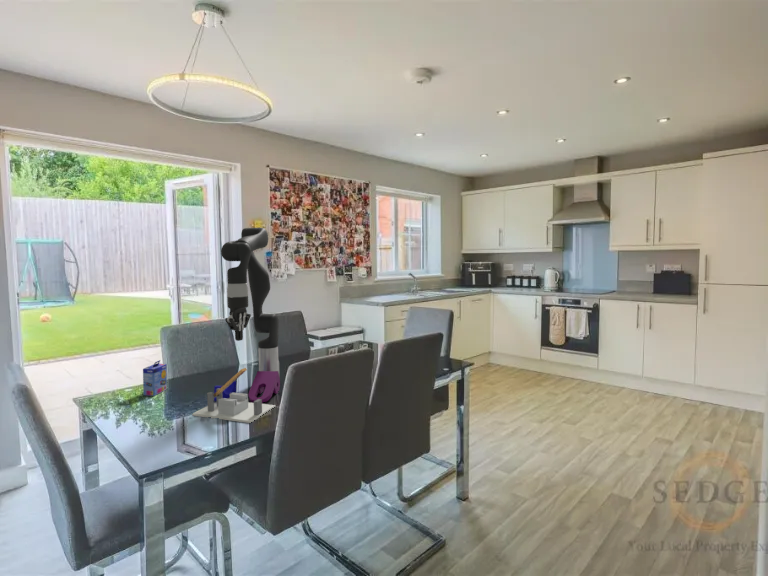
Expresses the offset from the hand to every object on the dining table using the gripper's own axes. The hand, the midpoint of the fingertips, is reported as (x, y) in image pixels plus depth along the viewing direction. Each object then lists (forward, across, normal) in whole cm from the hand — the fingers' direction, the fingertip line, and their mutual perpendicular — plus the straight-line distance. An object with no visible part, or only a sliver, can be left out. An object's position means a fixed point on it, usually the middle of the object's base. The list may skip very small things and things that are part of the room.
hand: (239, 340), depth 162 cm
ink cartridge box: (+29, -11, -53) cm, 62 cm away
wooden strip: (+18, 0, -5) cm, 19 cm away
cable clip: (+29, -13, -18) cm, 36 cm away
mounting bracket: (+29, -20, -3) cm, 36 cm away
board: (+29, -2, -4) cm, 29 cm away
